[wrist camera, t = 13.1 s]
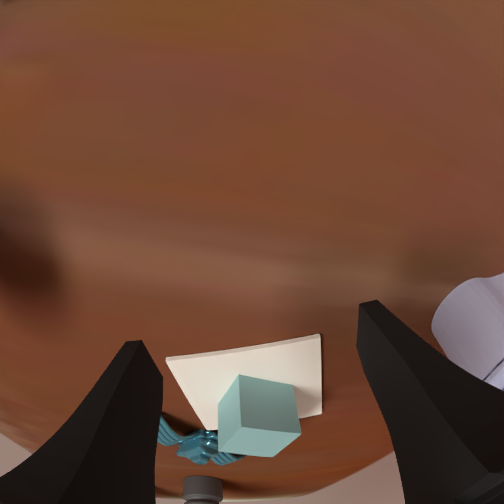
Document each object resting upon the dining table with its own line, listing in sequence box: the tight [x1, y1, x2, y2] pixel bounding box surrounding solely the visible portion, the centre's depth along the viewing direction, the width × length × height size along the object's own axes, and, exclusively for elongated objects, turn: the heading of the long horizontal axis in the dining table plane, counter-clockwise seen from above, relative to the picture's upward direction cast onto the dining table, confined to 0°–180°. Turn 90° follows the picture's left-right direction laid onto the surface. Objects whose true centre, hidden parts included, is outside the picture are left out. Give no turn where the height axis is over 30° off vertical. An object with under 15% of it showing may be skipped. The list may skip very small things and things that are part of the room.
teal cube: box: [218, 374, 302, 457], centre depth 24 cm, size 5×5×5 cm
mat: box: [166, 334, 322, 430], centre depth 26 cm, size 12×12×1 cm
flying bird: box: [157, 415, 246, 465], centre depth 30 cm, size 15×7×4 cm, turn 41°
